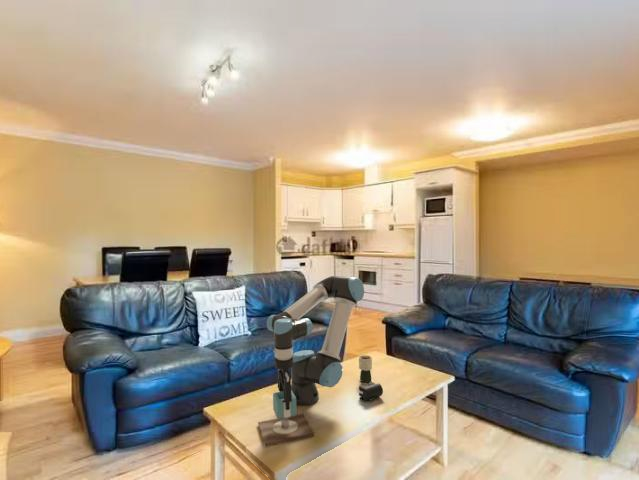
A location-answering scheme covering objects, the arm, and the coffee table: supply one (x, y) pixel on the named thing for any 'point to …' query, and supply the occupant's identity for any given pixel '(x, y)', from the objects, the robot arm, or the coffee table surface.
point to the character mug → (365, 367)
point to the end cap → (370, 391)
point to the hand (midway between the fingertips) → (284, 411)
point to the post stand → (285, 429)
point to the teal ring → (279, 405)
